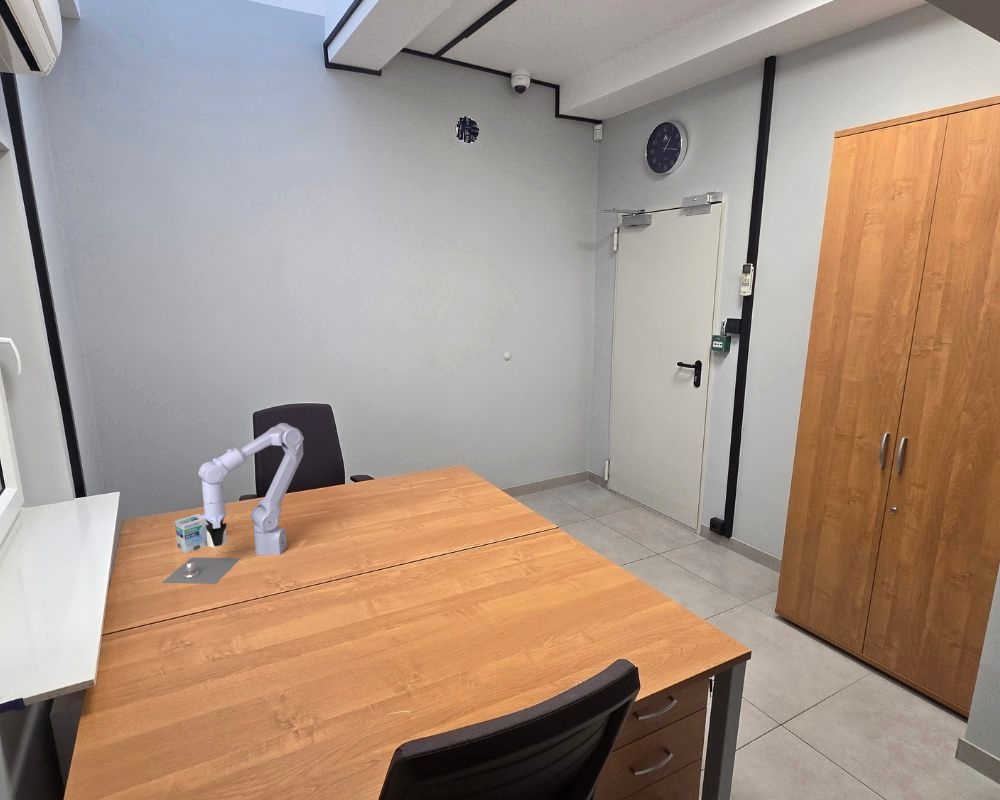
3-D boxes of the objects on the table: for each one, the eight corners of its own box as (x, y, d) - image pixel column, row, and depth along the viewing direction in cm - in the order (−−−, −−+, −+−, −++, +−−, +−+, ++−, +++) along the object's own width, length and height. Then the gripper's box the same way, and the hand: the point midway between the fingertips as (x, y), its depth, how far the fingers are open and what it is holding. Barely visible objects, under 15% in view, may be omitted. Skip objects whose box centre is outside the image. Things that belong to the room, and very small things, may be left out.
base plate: (241, 561, 179) (240, 558, 179) (215, 586, 163) (215, 583, 163) (191, 560, 179) (191, 557, 179) (161, 585, 163) (161, 582, 163)
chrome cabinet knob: (202, 571, 170) (201, 559, 170) (194, 578, 166) (193, 566, 165) (188, 571, 170) (186, 559, 170) (179, 578, 166) (178, 565, 165)
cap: (229, 539, 176) (228, 526, 175) (221, 547, 171) (220, 533, 170) (213, 539, 176) (212, 526, 175) (204, 546, 171) (203, 533, 170)
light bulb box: (185, 556, 182) (182, 525, 180) (176, 550, 186) (173, 520, 184) (218, 545, 190) (215, 515, 188) (209, 539, 194) (206, 510, 192)
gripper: (198, 495, 175) (202, 535, 178) (200, 510, 163) (203, 553, 165) (223, 491, 179) (226, 530, 181) (226, 506, 166) (229, 548, 169)
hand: (217, 541), depth 174 cm, fingers closed on cap, 5 cm apart
